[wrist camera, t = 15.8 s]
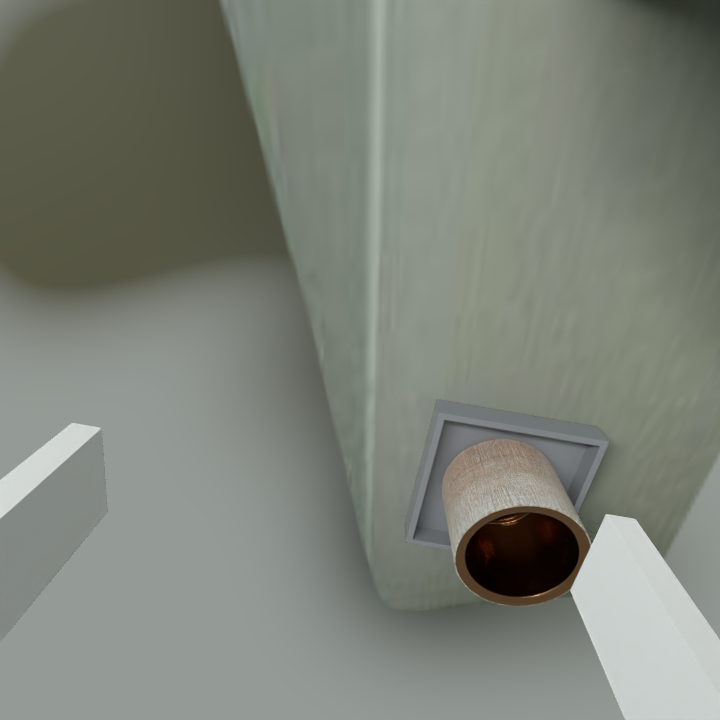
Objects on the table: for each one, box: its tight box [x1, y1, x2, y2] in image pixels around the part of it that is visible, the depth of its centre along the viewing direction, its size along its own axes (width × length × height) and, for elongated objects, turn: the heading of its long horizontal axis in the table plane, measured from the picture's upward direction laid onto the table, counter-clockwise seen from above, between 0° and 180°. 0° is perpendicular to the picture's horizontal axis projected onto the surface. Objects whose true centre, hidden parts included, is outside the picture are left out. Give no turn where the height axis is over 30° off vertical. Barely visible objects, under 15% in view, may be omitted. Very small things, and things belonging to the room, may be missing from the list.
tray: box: [405, 400, 609, 551], centre depth 44 cm, size 15×15×2 cm
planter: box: [442, 439, 591, 606], centre depth 41 cm, size 11×11×10 cm
